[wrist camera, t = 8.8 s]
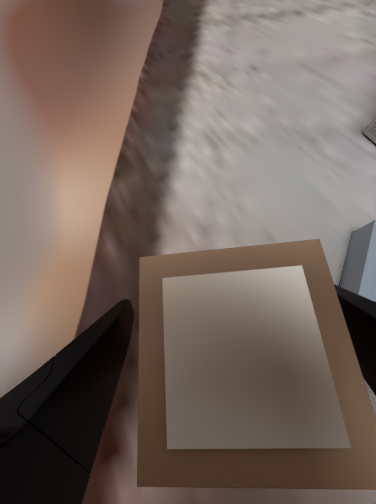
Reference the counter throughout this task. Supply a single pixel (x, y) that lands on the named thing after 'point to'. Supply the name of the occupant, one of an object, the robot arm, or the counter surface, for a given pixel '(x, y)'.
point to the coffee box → (371, 131)
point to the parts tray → (361, 263)
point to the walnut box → (249, 373)
